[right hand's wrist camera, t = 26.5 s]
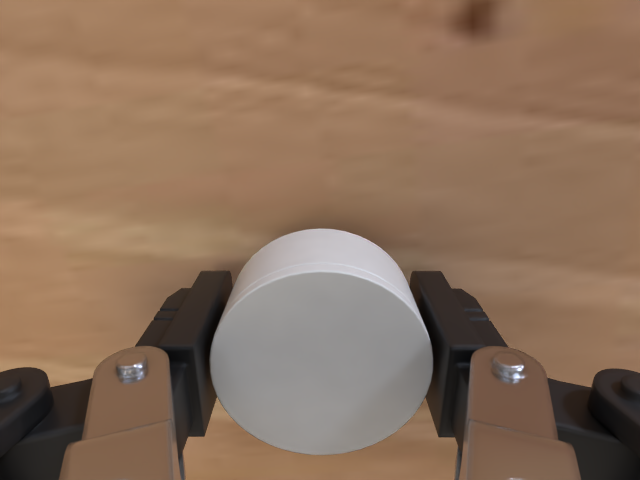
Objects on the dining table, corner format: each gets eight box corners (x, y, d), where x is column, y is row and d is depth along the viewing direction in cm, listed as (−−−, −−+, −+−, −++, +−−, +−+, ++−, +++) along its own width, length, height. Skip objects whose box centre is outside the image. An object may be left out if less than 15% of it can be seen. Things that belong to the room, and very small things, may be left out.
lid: (198, 269, 11) (166, 320, 9) (374, 198, 10) (388, 234, 8) (277, 406, 12) (268, 479, 10) (434, 352, 12) (461, 418, 10)
